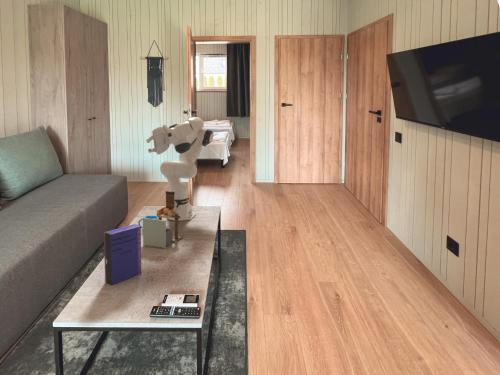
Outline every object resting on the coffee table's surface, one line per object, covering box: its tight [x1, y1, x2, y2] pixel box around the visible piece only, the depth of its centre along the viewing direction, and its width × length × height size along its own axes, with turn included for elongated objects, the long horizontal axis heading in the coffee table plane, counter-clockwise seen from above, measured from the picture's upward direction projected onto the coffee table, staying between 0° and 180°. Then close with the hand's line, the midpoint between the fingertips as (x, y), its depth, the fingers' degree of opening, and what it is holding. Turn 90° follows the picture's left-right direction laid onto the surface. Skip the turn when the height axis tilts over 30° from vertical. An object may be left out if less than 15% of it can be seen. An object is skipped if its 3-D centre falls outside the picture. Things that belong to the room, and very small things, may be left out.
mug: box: [137, 215, 158, 230], centre depth 305 cm, size 12×8×8 cm
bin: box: [142, 217, 174, 250], centre depth 277 cm, size 11×14×16 cm
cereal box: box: [103, 223, 143, 286], centre depth 227 cm, size 17×5×24 cm, turn 144°
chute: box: [156, 190, 177, 219], centre depth 284 cm, size 10×9×15 cm
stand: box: [157, 213, 184, 244], centre depth 288 cm, size 10×14×16 cm
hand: (147, 146), depth 290 cm, fingers open, 8 cm apart
